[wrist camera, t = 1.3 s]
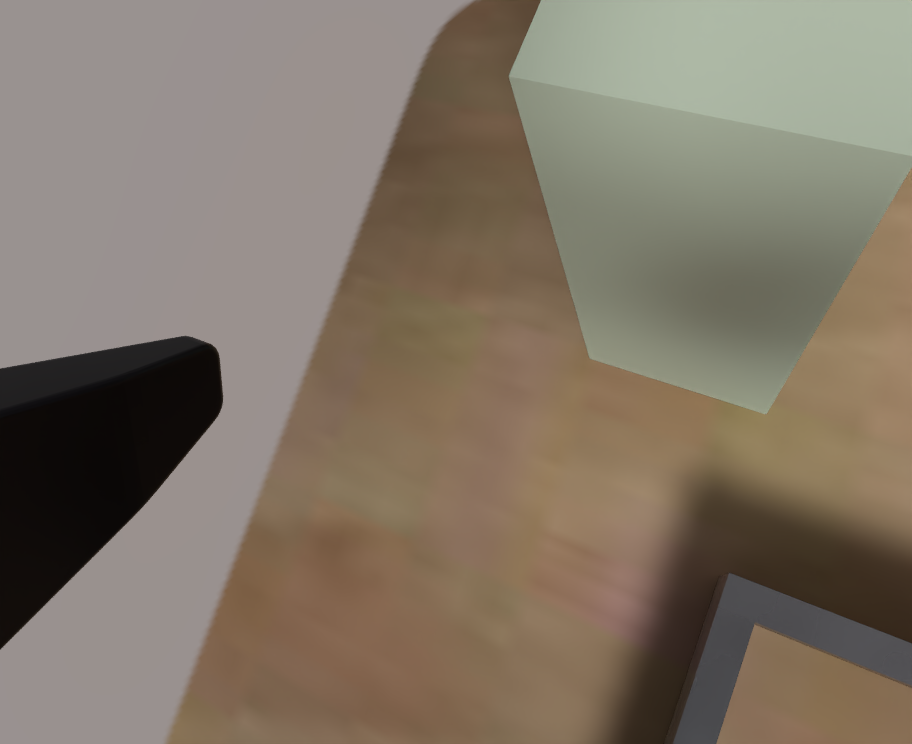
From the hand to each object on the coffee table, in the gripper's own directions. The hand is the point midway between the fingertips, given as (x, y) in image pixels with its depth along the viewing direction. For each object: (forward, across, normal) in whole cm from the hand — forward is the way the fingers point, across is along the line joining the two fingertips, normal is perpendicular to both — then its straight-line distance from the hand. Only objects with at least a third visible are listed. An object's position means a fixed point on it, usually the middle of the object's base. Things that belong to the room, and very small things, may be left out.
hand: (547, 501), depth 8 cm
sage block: (+15, 0, +4) cm, 15 cm away
